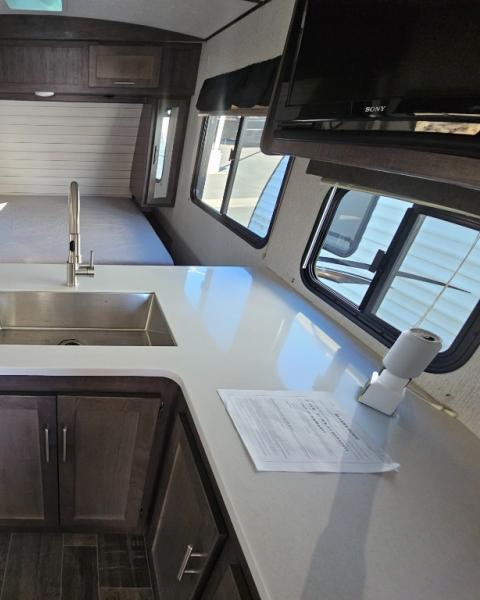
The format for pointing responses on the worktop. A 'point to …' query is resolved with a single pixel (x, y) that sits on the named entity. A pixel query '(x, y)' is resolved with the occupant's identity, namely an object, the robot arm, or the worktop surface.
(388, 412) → the white piece
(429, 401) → the worktop surface
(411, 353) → the can
